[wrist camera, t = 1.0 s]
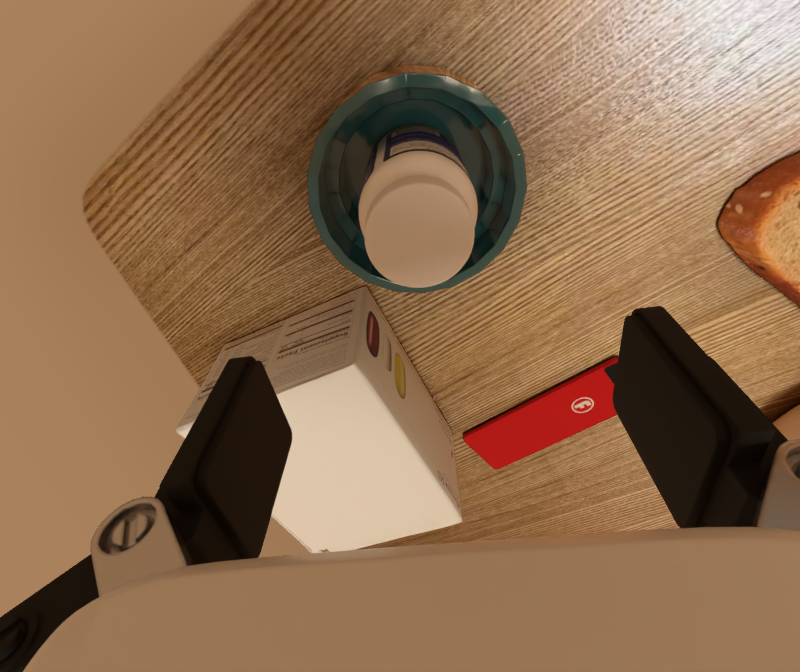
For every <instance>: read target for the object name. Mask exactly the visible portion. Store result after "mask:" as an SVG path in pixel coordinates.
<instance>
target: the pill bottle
mask: <svg viewBox="0 0 800 672" xmlns="http://www.w3.org/2000/svg"><path fill="white" fill-rule="evenodd" d="M477 214H478V204H477V198H476V193H475V189H474V187H473V184H472V182H471V180H470V178H469V175H468V173H467V171H466V169H465V166H464V164H463V162H462V159H461V157H460V155H459V152H458V151H457V149H456V147H455V146H454V144H453V143H452V142H451V141H450V139H449V138H448V137H446V136H445V135H444V134H443V133H441V132H440V131H438V130H436V129H434V128H432V127H429V126H425V125H406V126H402V127H399V128H397V129H395V130H393V131H391V132H390V133H388V134H387V135H386V136H384V137H383V138H382V139H381V140H380V141H379V143H378V144H377V145H376V147H375V148H374V150H373V152H372V154H371V156H370V159H369V161H368V165H367V169H366V174H365V178H364V182H363V187H362V191H361V195H360V200H359V222H360V227H361V230H362V233H363V236H364V240H365V247H366V251H367V254H368V256H369V259H370V260H371V262H372V264H373V265H374V267H375V268H376V269H377V270H378V271H379V273H381V274H382V275H383V276H384V277H385V278H387V279H388V280H390V281H392V282H394V283H396V284H399V285H402V286H406V287H412V288H423V287H430V286H434V285H437V284H440V283H442V282H444V281H446V280H448V279H450V278H451V277H453V276H454V275H455V274H456V273H457V272H458V271H459V270H460V269H461V268H462V267H463V266H464V264H465V263H466V262H467V260H468V258H469V256H470V254H471V251H472V248H473V244H474V238H475V225H476V221H477Z"/></svg>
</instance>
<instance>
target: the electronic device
mask: <svg viewBox="0 0 800 672" xmlns="http://www.w3.org/2000/svg"><path fill="white" fill-rule="evenodd" d="M618 358H619V357H613V358H611V359H609V360H607V361H605V362H604V363H602V364H600V365H598V366H596V367H594V368H592V369H590V370H588V371H586V372H584V373H582V374H580V375H578V376H576V377H574V378H572V379H570V380H568V381H567V382H565V383H563V384H561V385H559V386H557V387H555V388H553V389H551V390H549V391H547V392H545V393H543V394H541V395H539V396H537V397H535V398H533V399H531V400H530V401H528V402H526V403H524V404H522V405H520V406H518V407H516V408H514V409H512V410H510V411H508V412H506V413H504V414H502V415H500V416H498V417H496V418H494V419H493V420H491V421H489V422H487V423H485V424H483V425H481V426H479V427H477V428H475V429H473V430H471V431H469V432H467V433H465V434H464V435H463V440H464V442H466V443H467V444H468V445H469V446H470V447H471V448H472V449H473V450H474V451H475V452H476V453H477V454H479V455H480V456H481V457H482V458H483V459H484V460H485V461H486V462H487V463H488V464H489V465H490V466H492V467H493V468H494V469H500V468H502V467H504V466H507V465H509V464H511V463H513V462H515V461H518V460H520V459H522V458H524V457H526V456H528V455H531V454H533V453H535V452H537V451H539V450H541V449H544V448H546V447H548V446H550V445H552V444H554V443H557V442H559V441H561V440H563V439H565V438H568V437H570V436H572V435H574V434H576V433H578V432H581V431H583V430H585V429H587V428H589V427H591V426H594V425H596V424H598V423H600V422H602V421H604V420H607V419H609V418H611V417H613V416H615V415H617V413H616V411H615V408H614V405H613V398H612V397H613V390H614V383H615V377H616V371H617V364H618Z"/></svg>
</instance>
